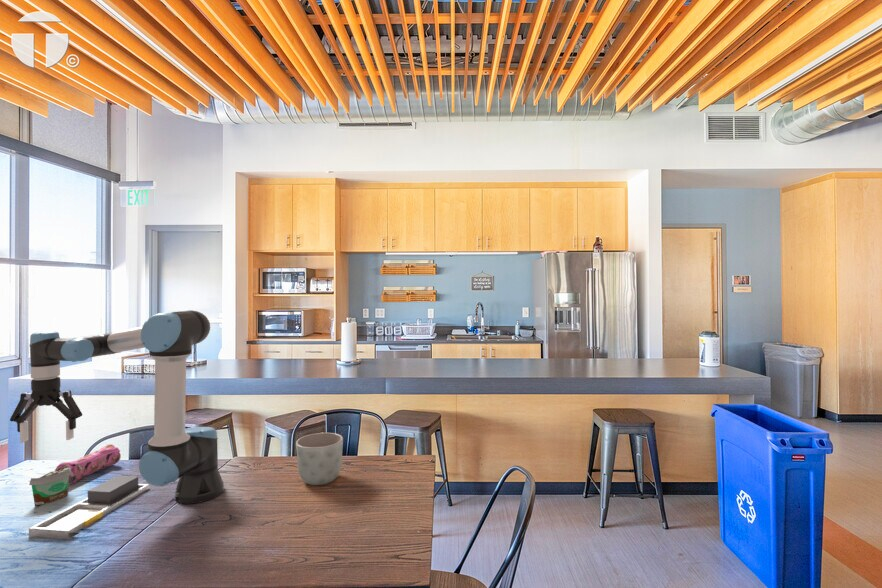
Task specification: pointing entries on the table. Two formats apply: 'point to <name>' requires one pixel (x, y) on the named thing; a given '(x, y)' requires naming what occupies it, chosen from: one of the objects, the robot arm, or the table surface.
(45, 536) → the rack
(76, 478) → the pencil case
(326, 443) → the planter
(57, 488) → the food container
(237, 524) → the table surface
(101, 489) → the grey rectangular box
